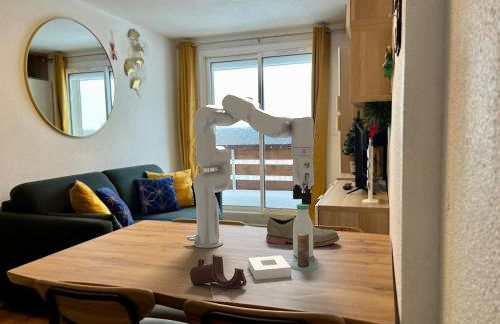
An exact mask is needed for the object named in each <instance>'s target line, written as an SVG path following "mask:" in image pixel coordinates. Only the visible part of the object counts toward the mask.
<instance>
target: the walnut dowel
mask: <svg viewBox="0 0 500 324" xmlns="http://www.w3.org/2000/svg"><path fill="white" fill-rule="evenodd" d="M297 245H298V257H297V261H298V266H299V267H303V268H305V267H309V261H310V257H309V234H306V233H299V234H297Z"/></svg>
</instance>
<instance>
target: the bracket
mask: <svg viewBox="0 0 500 324" xmlns="http://www.w3.org/2000/svg"><path fill="white" fill-rule="evenodd" d="M211 258H212V263H209V264H205V260H204V258H199V259H197V265H196V266H192V267H191V268H190V271H189V278H190V279H189V280H190V282H191V284H192V285H204V284H212V283H216V284H217V285H218V286H219V287H220V288H221V289H232V288H240V287H241V288H242V287H246V285H247V284H248V283H247V281H248V280H247V279H246V276H245V271H244V268H240V267H239V268H237V267H234V272H233V276H232V277H231V278H230V279H227V278H226V276H225V273H224V262H223V261H224V259H223V256H222V255H216V254H213V255H212V256H211Z"/></svg>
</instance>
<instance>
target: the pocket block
mask: <svg viewBox="0 0 500 324" xmlns="http://www.w3.org/2000/svg"><path fill="white" fill-rule="evenodd" d="M285 259H286V258H284V257H283V255H271V256H257V257H248V259H247V261H248V264H247V265H248V268H249V270H250V273H251V274H252V276H253V279H254V280H268V279H277V278H287V277H288V278H290V277H292V268H291V267H290V263H288V261H287V260H285Z"/></svg>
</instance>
